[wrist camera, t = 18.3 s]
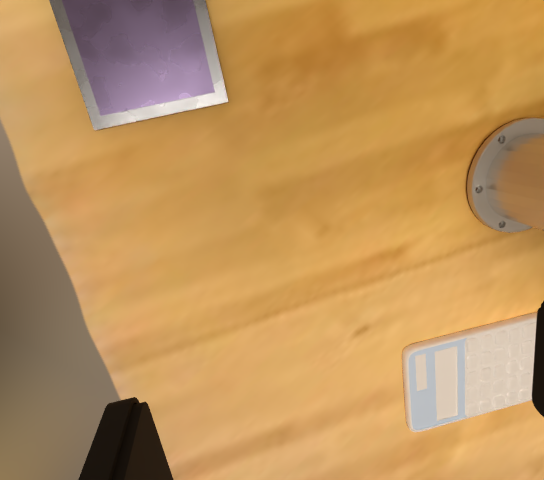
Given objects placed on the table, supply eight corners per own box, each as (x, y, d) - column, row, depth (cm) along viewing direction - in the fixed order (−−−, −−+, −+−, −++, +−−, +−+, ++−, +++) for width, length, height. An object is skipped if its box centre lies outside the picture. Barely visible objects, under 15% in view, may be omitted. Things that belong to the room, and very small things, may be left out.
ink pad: (193, -49, 31) (192, -57, 30) (227, 102, 35) (228, 101, 34) (45, -23, 30) (37, -31, 29) (97, 130, 34) (92, 130, 33)
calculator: (535, 389, 54) (546, 399, 52) (404, 426, 52) (411, 437, 50) (541, 308, 50) (553, 314, 48) (398, 344, 48) (406, 352, 46)
